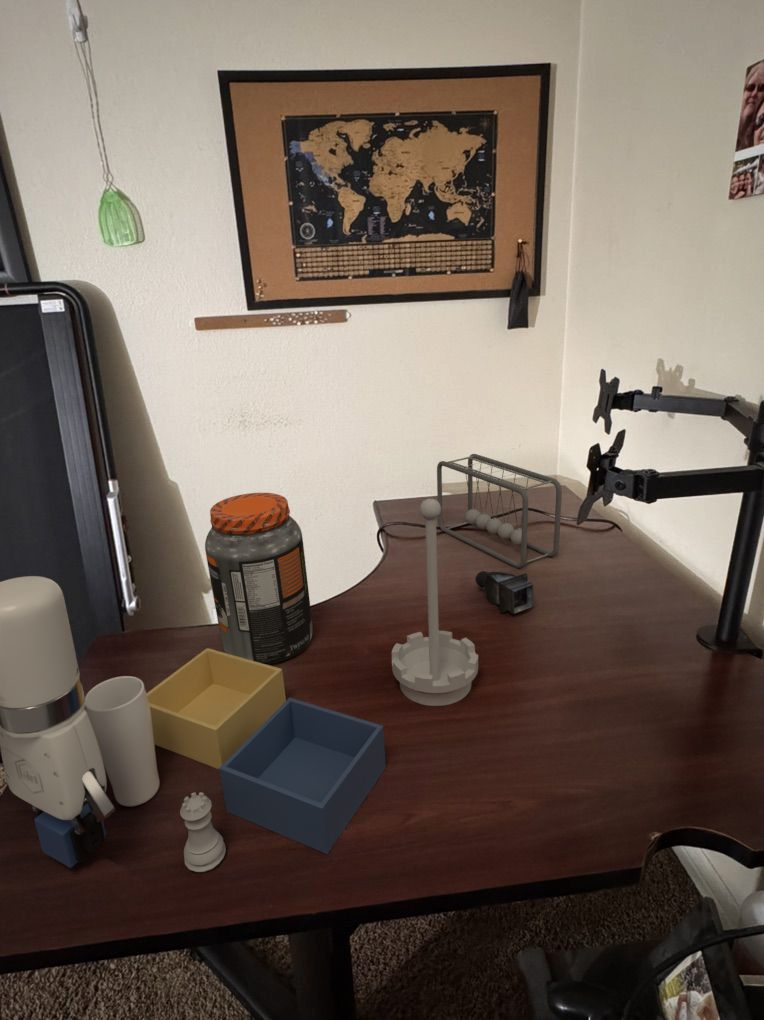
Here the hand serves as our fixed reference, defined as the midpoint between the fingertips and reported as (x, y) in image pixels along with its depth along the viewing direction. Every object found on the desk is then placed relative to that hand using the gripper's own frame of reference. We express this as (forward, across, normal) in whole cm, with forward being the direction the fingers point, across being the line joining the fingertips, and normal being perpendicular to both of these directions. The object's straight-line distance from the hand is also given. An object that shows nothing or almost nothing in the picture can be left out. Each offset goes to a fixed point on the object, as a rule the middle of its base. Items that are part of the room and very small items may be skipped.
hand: (74, 841), depth 68 cm
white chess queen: (+3, +12, +7) cm, 14 cm away
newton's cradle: (+1, +15, +100) cm, 101 cm away
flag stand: (+2, +23, +46) cm, 51 cm away
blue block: (0, 0, 0) cm, 0 cm away
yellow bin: (+3, -2, +25) cm, 25 cm away
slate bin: (+3, +17, +20) cm, 26 cm away
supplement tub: (+3, -8, +45) cm, 46 cm away
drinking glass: (+4, -2, +10) cm, 11 cm away
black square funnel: (+1, +25, +74) cm, 78 cm away
